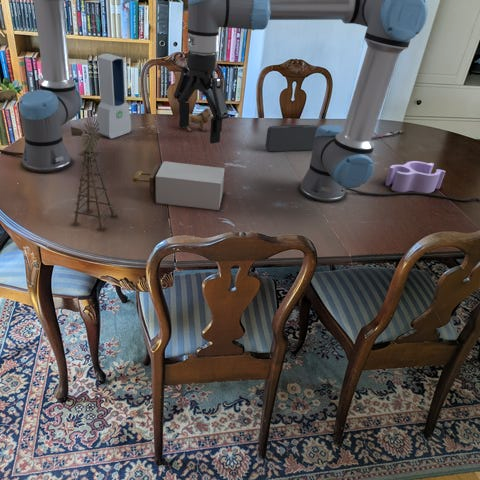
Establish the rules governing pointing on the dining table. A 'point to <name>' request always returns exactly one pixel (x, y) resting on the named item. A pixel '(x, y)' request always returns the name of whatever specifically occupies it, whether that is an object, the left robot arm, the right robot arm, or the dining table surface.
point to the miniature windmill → (85, 153)
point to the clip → (414, 177)
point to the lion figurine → (200, 118)
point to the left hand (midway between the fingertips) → (199, 70)
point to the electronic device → (112, 97)
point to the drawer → (151, 180)
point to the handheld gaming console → (290, 137)
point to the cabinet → (189, 185)
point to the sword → (386, 134)
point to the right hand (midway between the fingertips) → (198, 134)
